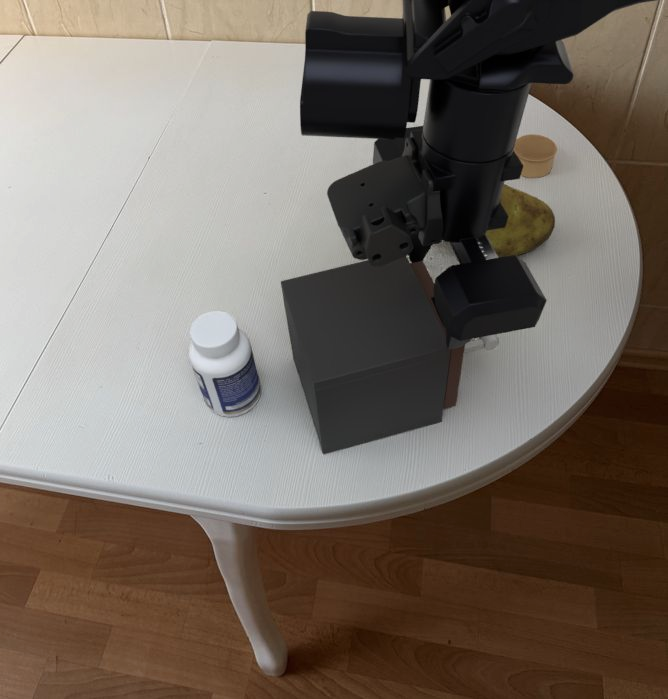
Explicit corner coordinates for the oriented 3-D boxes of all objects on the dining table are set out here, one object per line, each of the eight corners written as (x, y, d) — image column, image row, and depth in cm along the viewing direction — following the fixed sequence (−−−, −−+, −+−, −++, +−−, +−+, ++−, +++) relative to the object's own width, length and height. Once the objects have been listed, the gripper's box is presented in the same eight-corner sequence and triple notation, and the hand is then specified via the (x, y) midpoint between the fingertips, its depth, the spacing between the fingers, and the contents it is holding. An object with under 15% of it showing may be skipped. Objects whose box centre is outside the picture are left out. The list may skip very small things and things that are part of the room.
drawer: (459, 314, 69) (468, 248, 62) (501, 393, 63) (516, 330, 56) (322, 349, 67) (315, 286, 60) (351, 434, 61) (347, 375, 54)
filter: (559, 160, 84) (564, 142, 82) (542, 183, 81) (546, 166, 79) (520, 147, 86) (524, 129, 84) (502, 169, 83) (505, 152, 81)
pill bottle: (270, 378, 67) (256, 311, 59) (248, 425, 64) (229, 361, 56) (219, 365, 68) (198, 298, 60) (194, 410, 65) (169, 345, 57)
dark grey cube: (401, 330, 69) (404, 250, 61) (441, 422, 63) (451, 347, 54) (293, 358, 68) (280, 280, 59) (323, 454, 61) (313, 383, 53)
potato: (539, 283, 72) (554, 225, 66) (418, 256, 75) (421, 198, 69) (553, 230, 77) (569, 170, 70) (439, 206, 80) (443, 148, 74)
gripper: (307, 66, 47) (308, 236, 60) (386, 261, 36) (367, 420, 49) (463, 48, 49) (432, 217, 62) (582, 229, 38) (516, 390, 51)
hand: (433, 301), depth 56 cm, fingers open, 9 cm apart
